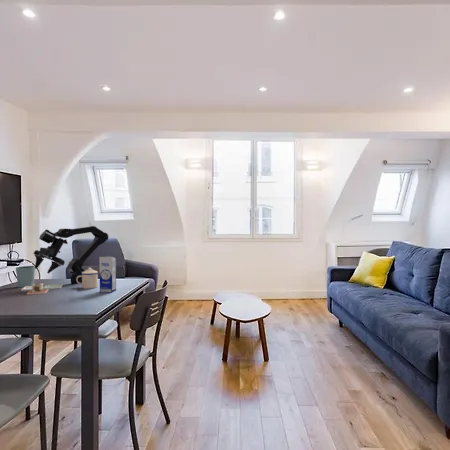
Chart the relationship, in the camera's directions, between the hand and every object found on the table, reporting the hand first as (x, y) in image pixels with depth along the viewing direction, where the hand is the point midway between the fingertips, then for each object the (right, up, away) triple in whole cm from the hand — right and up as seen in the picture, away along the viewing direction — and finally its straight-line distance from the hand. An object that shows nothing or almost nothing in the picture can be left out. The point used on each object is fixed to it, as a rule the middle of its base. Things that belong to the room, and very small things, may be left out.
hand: (41, 270), depth 201 cm
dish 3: (+7, -10, +1) cm, 12 cm away
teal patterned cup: (-13, -11, +7) cm, 18 cm away
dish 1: (-4, -10, -3) cm, 11 cm away
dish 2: (+5, -11, -14) cm, 18 cm away
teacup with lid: (+26, -10, +2) cm, 28 cm away
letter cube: (+5, -10, -14) cm, 18 cm away
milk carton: (+42, -10, -9) cm, 44 cm away
